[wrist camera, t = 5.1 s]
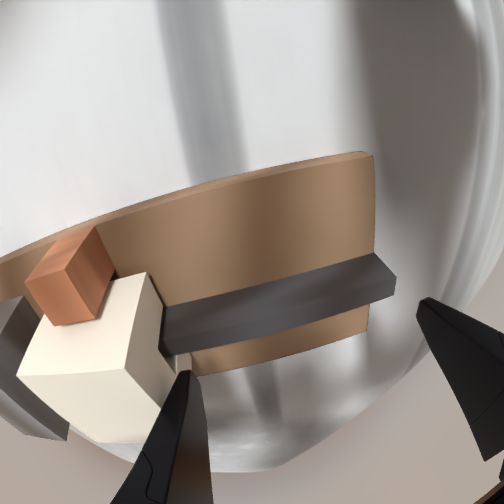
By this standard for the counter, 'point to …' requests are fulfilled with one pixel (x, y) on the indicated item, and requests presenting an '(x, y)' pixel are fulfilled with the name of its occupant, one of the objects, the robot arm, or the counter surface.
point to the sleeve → (106, 365)
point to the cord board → (209, 272)
